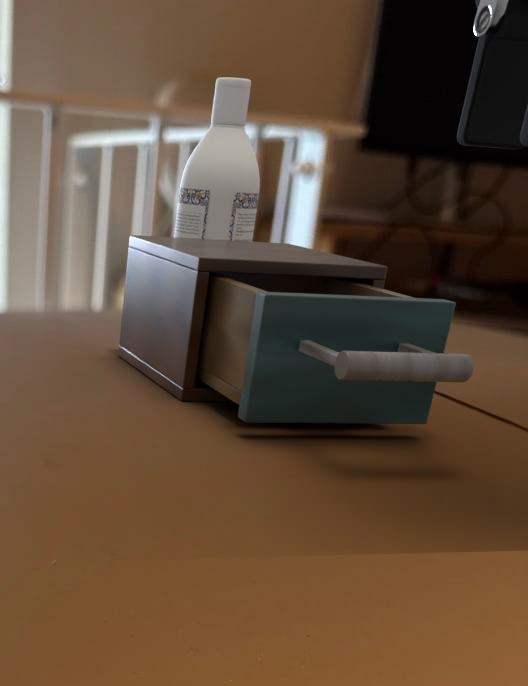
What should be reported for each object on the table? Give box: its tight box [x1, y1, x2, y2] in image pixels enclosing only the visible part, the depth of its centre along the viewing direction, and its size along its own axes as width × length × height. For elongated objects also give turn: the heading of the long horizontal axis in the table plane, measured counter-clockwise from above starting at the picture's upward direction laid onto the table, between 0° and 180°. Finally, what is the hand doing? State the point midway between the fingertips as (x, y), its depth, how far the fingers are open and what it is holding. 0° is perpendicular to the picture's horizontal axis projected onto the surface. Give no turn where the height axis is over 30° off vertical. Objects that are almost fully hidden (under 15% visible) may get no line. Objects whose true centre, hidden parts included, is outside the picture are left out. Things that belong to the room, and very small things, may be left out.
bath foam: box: [173, 76, 261, 242], centre depth 85 cm, size 7×7×20 cm
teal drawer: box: [196, 272, 475, 425], centre depth 56 cm, size 19×11×7 cm, turn 12°
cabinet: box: [117, 234, 388, 403], centre depth 67 cm, size 15×13×9 cm
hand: (523, 142), depth 40 cm, fingers open, 3 cm apart
